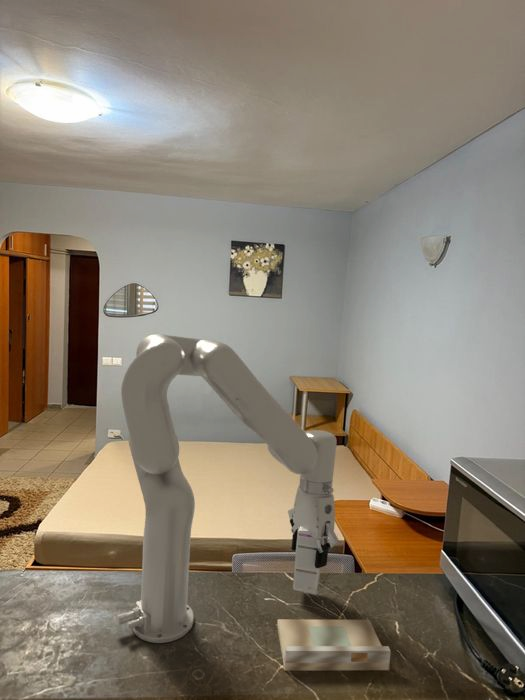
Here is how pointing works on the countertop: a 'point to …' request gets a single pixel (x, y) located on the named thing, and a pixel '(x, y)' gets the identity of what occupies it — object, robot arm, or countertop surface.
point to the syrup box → (306, 563)
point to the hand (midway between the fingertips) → (308, 557)
